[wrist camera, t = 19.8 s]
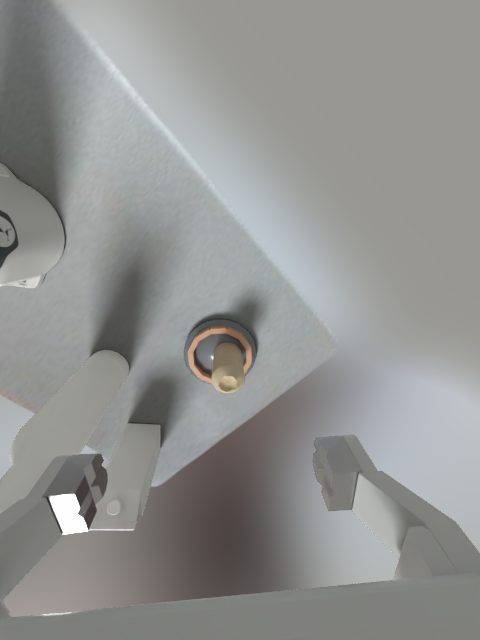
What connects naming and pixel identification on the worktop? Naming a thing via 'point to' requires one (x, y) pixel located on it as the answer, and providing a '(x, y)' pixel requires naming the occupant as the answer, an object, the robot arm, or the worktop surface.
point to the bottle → (62, 423)
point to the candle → (227, 368)
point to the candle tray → (209, 338)
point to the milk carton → (129, 478)
